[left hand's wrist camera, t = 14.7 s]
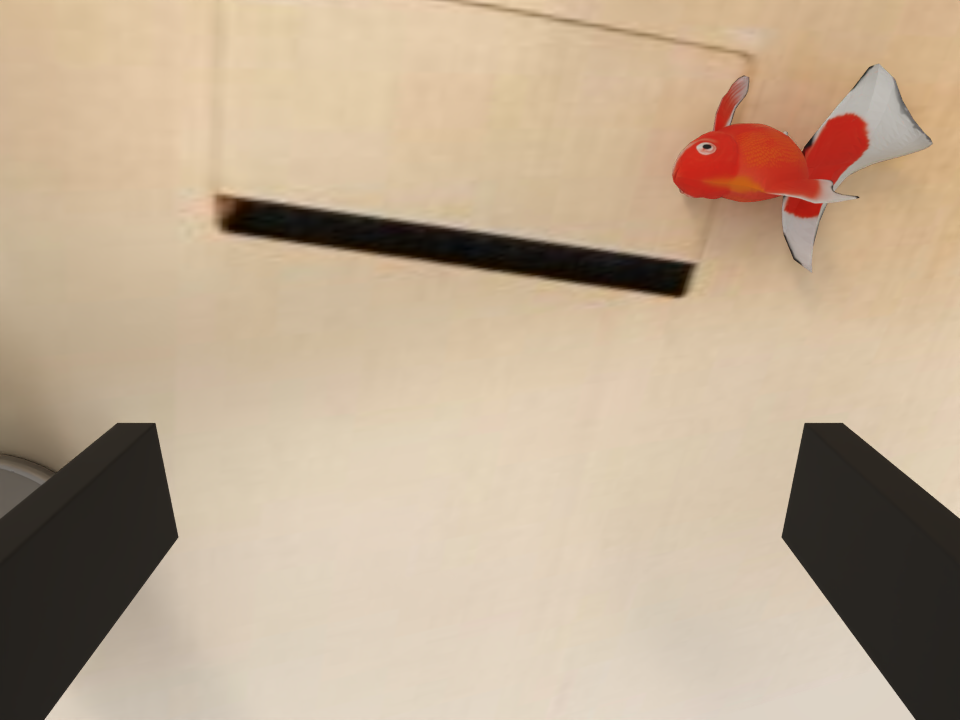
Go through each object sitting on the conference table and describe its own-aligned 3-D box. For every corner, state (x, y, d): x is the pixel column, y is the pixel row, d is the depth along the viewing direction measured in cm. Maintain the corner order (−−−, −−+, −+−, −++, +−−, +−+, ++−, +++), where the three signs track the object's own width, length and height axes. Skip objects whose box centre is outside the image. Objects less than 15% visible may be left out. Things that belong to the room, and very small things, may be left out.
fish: (712, -17, 32) (845, 58, 26) (886, 61, 40) (1024, 135, 33) (612, 170, 39) (699, 267, 32) (778, 207, 46) (876, 292, 40)
